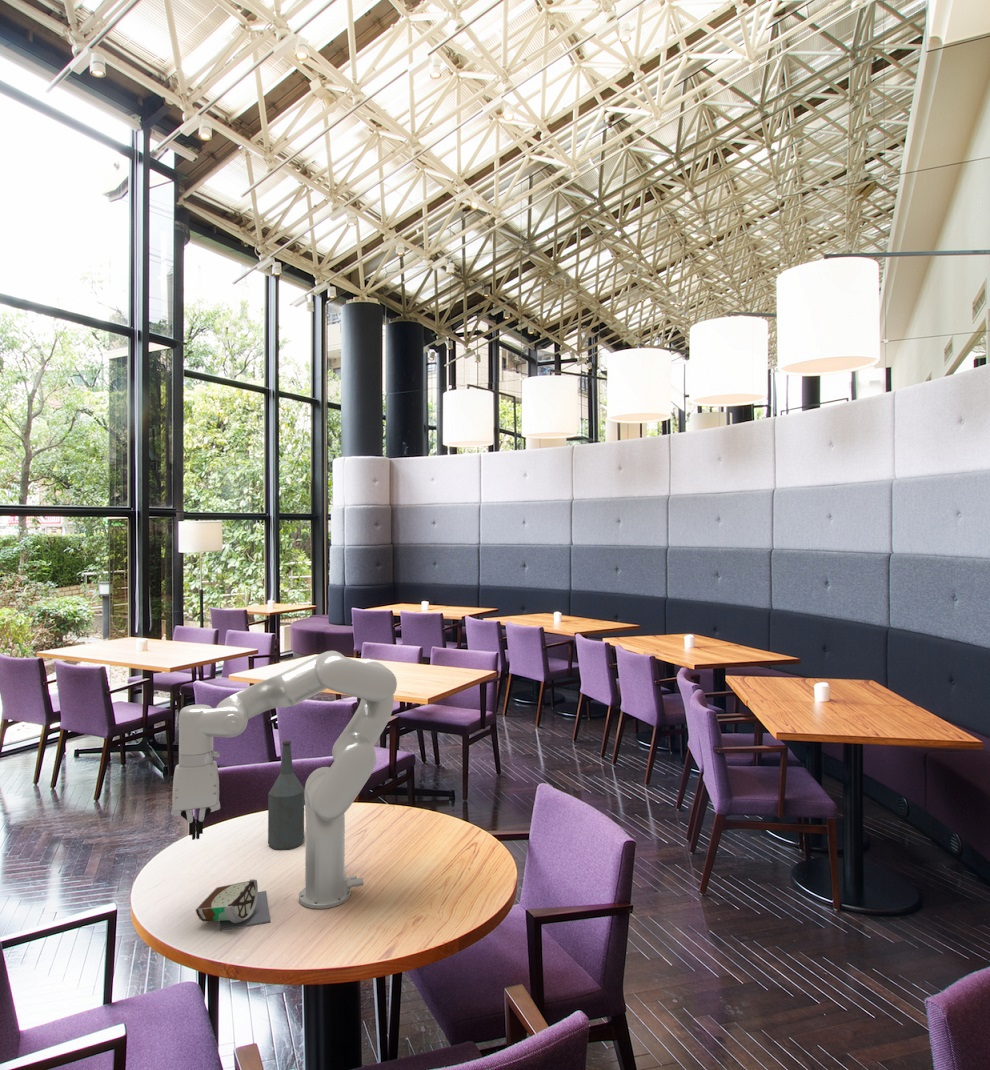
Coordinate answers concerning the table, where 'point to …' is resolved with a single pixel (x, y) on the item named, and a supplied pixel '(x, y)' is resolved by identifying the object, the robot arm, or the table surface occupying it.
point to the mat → (252, 915)
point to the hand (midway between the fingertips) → (195, 837)
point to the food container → (230, 902)
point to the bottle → (286, 806)
